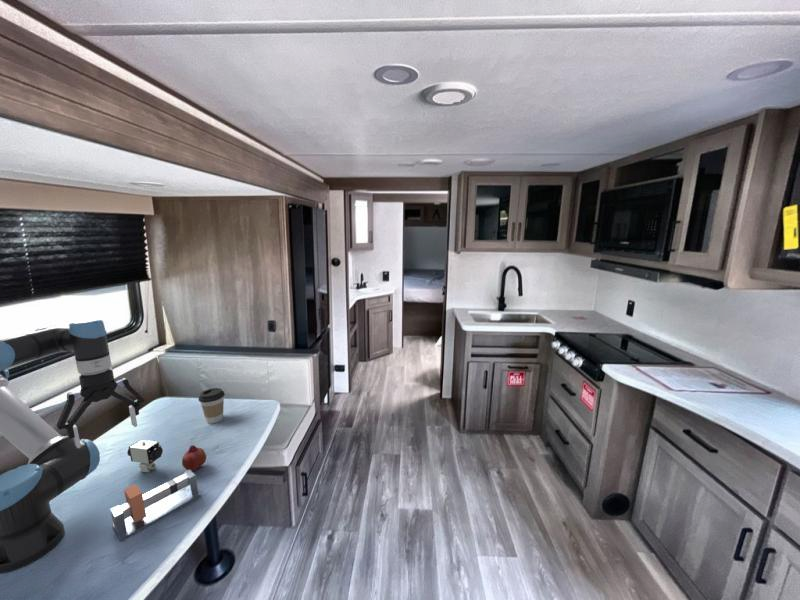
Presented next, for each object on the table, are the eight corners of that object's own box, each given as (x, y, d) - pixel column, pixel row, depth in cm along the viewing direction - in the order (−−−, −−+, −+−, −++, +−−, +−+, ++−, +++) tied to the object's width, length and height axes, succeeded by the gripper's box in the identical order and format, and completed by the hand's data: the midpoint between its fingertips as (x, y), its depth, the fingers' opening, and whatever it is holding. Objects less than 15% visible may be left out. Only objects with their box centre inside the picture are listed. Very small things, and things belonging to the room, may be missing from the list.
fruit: (181, 478, 125) (177, 454, 123) (185, 465, 132) (182, 442, 130) (206, 472, 128) (202, 448, 126) (208, 459, 135) (205, 437, 133)
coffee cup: (212, 413, 172) (208, 386, 169) (232, 414, 170) (229, 387, 168) (196, 425, 161) (192, 396, 158) (217, 427, 159) (213, 397, 157)
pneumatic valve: (155, 475, 127) (150, 447, 125) (130, 471, 129) (125, 444, 127) (168, 465, 132) (163, 438, 130) (143, 462, 134) (138, 435, 132)
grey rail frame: (120, 542, 98) (116, 520, 97) (112, 526, 104) (108, 505, 102) (200, 496, 115) (198, 477, 114) (190, 485, 121) (187, 467, 120)
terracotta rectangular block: (134, 522, 102) (130, 498, 100) (128, 512, 106) (124, 489, 104) (146, 516, 104) (142, 492, 103) (140, 506, 108) (135, 483, 106)
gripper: (37, 389, 87) (53, 461, 91) (149, 360, 107) (159, 421, 111) (32, 382, 92) (48, 451, 95) (141, 356, 112) (150, 414, 115)
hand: (107, 435), depth 103 cm, fingers open, 13 cm apart
